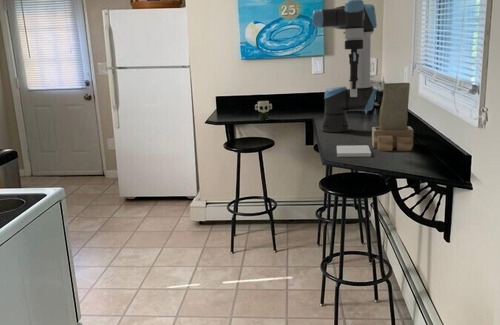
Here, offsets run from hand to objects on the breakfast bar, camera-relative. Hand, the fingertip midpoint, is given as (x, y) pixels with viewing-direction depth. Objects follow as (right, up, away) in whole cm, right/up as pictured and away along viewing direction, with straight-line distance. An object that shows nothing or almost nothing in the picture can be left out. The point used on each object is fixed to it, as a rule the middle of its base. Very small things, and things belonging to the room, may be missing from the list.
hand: (353, 96), depth 202 cm
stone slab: (+21, -20, +16) cm, 33 cm away
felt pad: (+1, -24, +6) cm, 25 cm away
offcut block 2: (+24, -22, +7) cm, 33 cm away
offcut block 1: (+16, -23, +9) cm, 29 cm away
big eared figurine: (-35, -2, +105) cm, 110 cm away
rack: (+21, -20, +16) cm, 33 cm away
